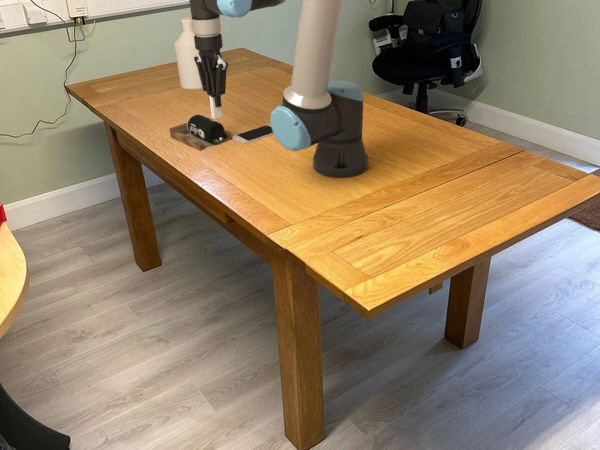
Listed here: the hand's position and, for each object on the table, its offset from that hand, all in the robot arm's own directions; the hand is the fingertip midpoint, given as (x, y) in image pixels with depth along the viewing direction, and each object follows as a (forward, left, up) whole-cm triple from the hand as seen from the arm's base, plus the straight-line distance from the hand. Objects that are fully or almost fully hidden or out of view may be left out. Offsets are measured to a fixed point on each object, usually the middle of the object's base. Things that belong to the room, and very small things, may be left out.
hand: (216, 116), depth 171 cm
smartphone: (-1, -14, -10) cm, 17 cm away
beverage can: (+1, 0, -6) cm, 6 cm away
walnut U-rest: (+9, 0, -9) cm, 13 cm away
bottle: (+57, -31, -10) cm, 66 cm away
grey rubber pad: (+9, 0, -9) cm, 13 cm away
